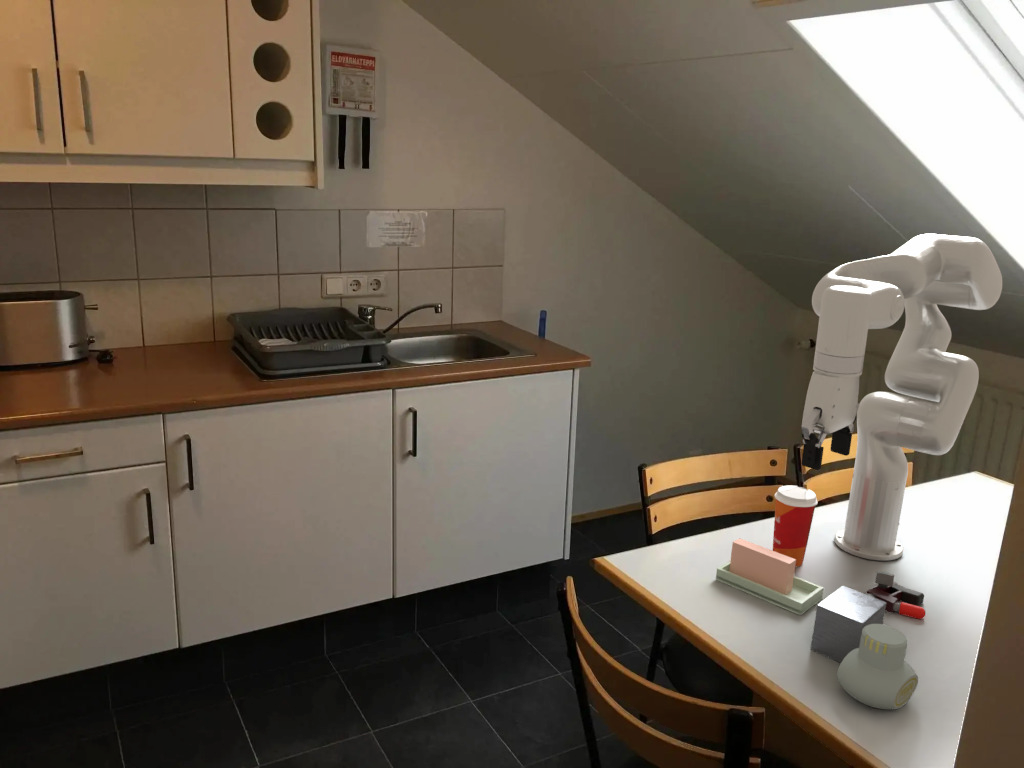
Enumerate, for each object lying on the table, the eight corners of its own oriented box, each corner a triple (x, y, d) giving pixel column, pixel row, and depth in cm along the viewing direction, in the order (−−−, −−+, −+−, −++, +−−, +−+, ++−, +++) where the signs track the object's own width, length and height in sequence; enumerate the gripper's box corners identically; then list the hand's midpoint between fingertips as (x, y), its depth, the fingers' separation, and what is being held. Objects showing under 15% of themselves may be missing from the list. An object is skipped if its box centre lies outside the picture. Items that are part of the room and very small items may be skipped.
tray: (739, 565, 157) (740, 554, 157) (822, 598, 146) (823, 587, 146) (715, 579, 151) (717, 568, 151) (800, 615, 141) (801, 603, 140)
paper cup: (776, 547, 165) (784, 481, 161) (814, 560, 160) (824, 492, 157) (759, 560, 159) (768, 492, 155) (799, 574, 155) (809, 504, 151)
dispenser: (832, 627, 137) (839, 584, 135) (878, 646, 132) (886, 602, 130) (807, 648, 131) (814, 603, 129) (854, 669, 126) (862, 623, 124)
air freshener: (865, 668, 127) (875, 609, 124) (920, 695, 121) (932, 633, 118) (827, 695, 120) (837, 633, 117) (883, 726, 114) (895, 661, 111)
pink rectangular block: (735, 568, 154) (739, 538, 153) (791, 590, 147) (796, 559, 145) (729, 572, 153) (732, 542, 151) (785, 595, 145) (789, 563, 144)
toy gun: (848, 607, 144) (852, 582, 143) (887, 589, 151) (891, 564, 150) (901, 633, 137) (906, 607, 136) (939, 613, 144) (944, 587, 142)
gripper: (842, 349, 145) (829, 442, 150) (789, 367, 134) (778, 466, 139) (884, 358, 140) (870, 454, 145) (834, 377, 129) (820, 480, 134)
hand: (825, 460), depth 142 cm, fingers open, 9 cm apart
